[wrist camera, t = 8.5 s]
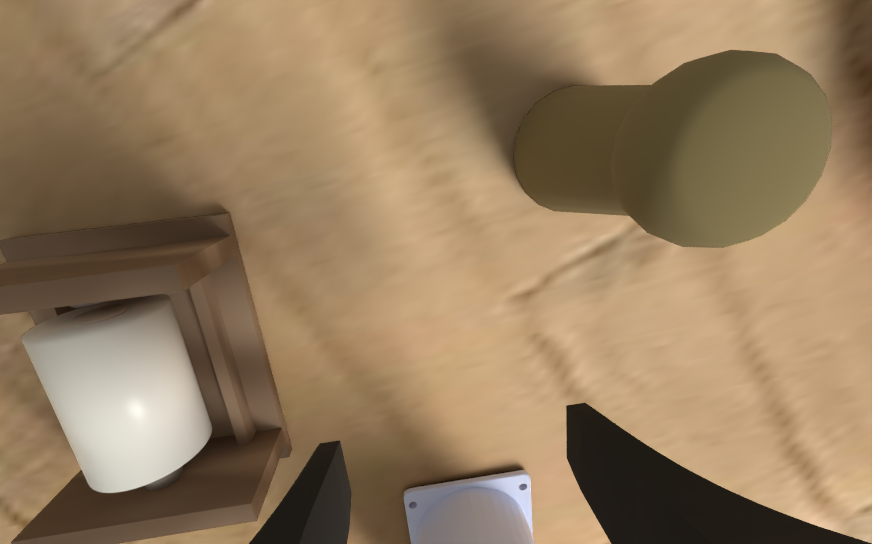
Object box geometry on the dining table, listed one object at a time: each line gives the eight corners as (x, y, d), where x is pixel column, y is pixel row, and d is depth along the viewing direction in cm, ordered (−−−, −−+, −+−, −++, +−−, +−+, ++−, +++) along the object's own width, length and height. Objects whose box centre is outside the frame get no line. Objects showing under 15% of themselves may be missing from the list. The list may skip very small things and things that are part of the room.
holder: (291, 449, 24) (262, 537, 18) (114, 476, 23) (30, 575, 18) (229, 212, 19) (166, 237, 14) (9, 238, 19) (-144, 274, 13)
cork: (490, 174, 20) (594, 204, 10) (559, 59, 19) (766, -52, 8) (584, 232, 21) (765, 315, 11) (654, 129, 20) (934, 110, 10)
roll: (229, 412, 22) (179, 486, 17) (135, 424, 22) (58, 503, 17) (190, 285, 20) (120, 330, 15) (85, 298, 19) (-20, 347, 15)
